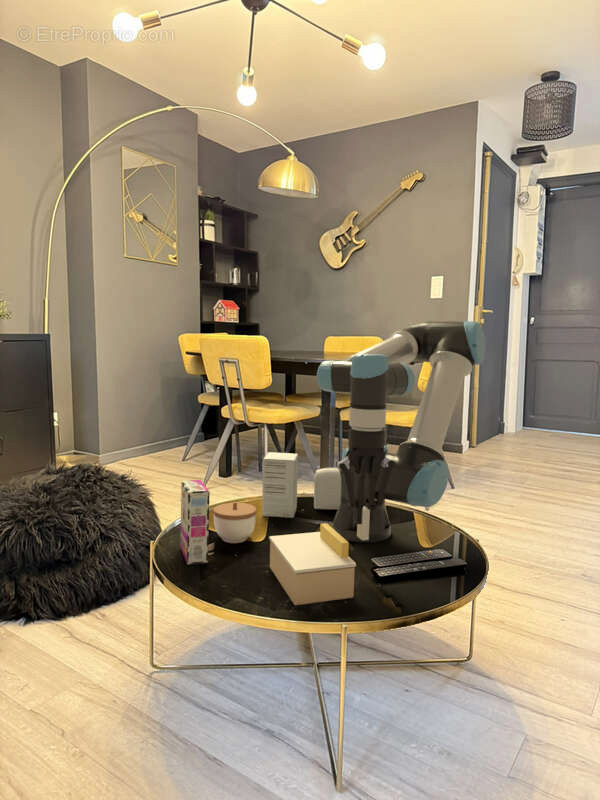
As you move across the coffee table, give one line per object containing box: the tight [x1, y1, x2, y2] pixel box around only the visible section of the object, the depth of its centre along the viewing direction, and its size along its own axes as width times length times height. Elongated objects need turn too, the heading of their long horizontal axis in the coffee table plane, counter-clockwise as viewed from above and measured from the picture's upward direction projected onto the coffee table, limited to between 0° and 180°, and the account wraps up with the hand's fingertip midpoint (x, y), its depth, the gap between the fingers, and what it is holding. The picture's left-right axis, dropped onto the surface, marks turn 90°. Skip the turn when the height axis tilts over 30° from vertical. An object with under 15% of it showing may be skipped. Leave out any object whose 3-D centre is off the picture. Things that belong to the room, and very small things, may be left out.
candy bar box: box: [180, 479, 210, 566], centre depth 122 cm, size 11×5×16 cm, turn 21°
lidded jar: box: [212, 501, 257, 544], centre depth 133 cm, size 11×11×9 cm
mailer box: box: [269, 540, 355, 606], centre depth 110 cm, size 12×18×6 cm, turn 18°
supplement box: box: [261, 451, 299, 519], centre depth 155 cm, size 10×9×17 cm
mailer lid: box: [268, 522, 357, 573], centre depth 110 cm, size 12×18×4 cm
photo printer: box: [313, 467, 341, 510], centre depth 160 cm, size 10×4×12 cm, turn 88°
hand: (362, 537), depth 113 cm, fingers closed
